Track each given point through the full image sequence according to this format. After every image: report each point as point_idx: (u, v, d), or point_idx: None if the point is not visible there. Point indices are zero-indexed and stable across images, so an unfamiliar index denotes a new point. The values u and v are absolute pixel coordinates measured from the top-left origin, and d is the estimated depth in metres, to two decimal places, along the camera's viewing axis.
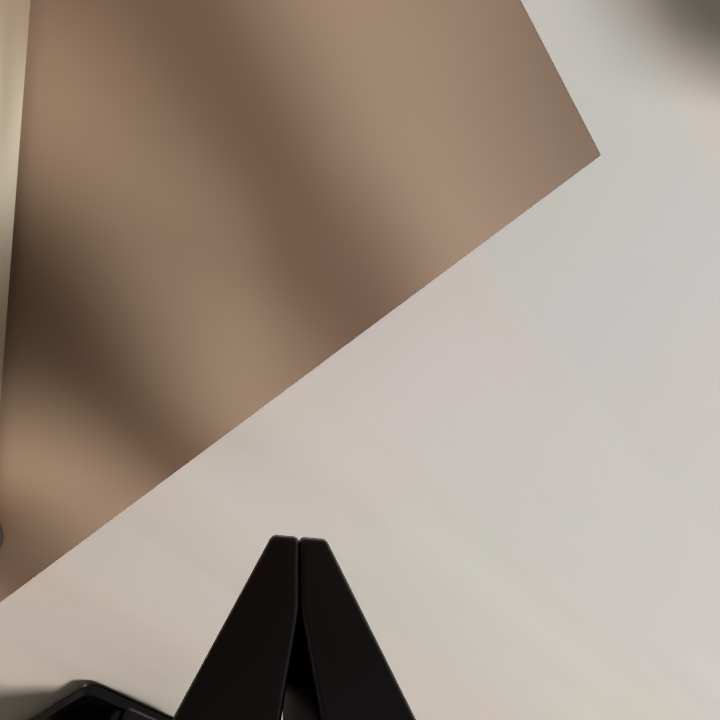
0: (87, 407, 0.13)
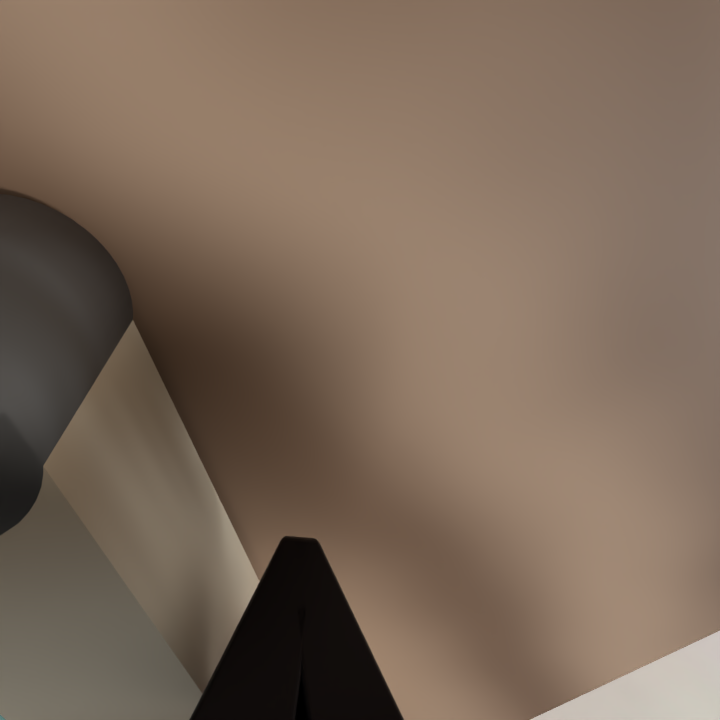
0: (484, 678, 0.14)
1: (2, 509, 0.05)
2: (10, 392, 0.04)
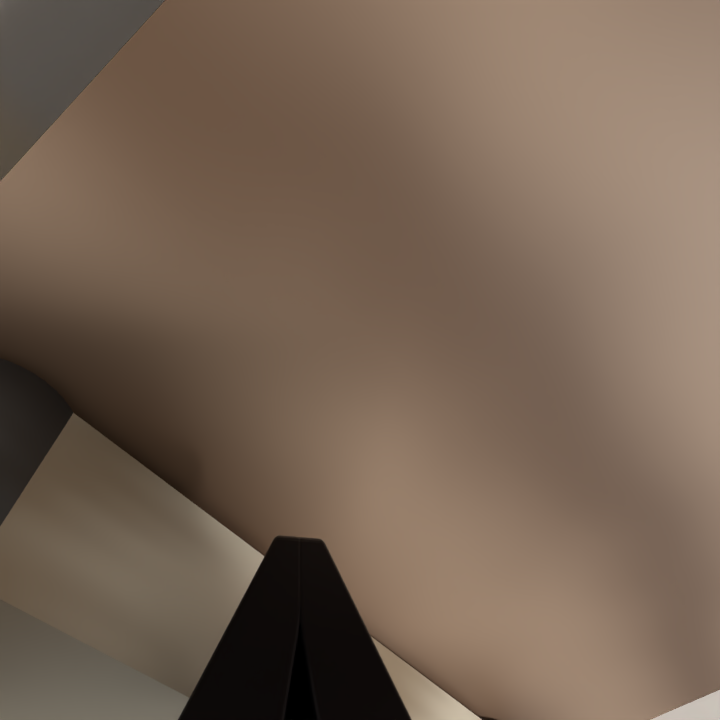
0: (662, 657, 0.14)
1: None
2: None
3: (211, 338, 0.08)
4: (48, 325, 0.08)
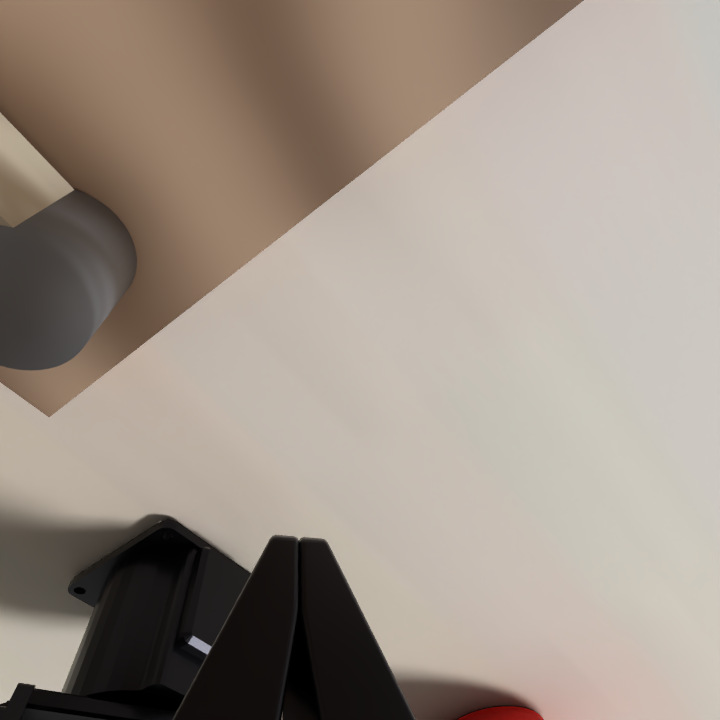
0: (252, 98, 0.12)
1: None
2: None
3: None
4: None
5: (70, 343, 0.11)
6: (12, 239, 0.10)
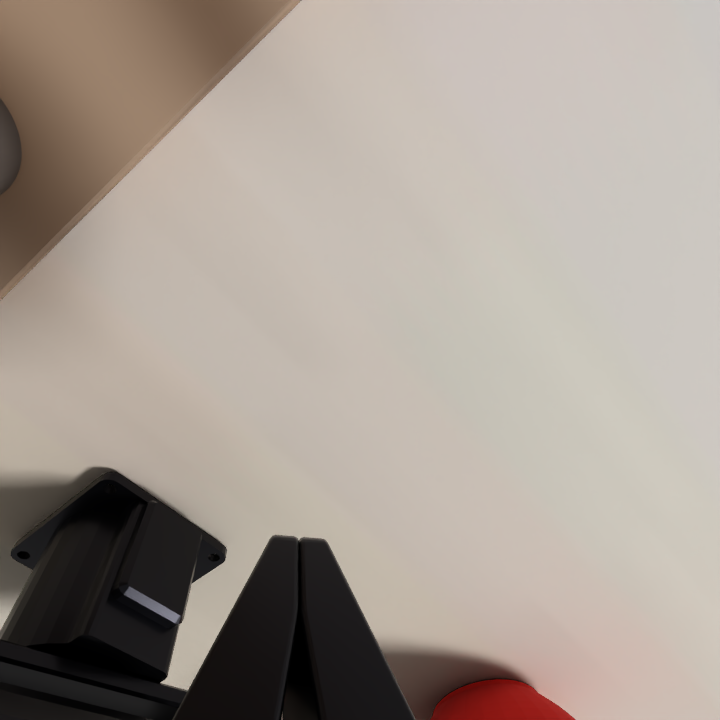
0: None
1: None
2: None
3: None
4: None
5: None
6: None
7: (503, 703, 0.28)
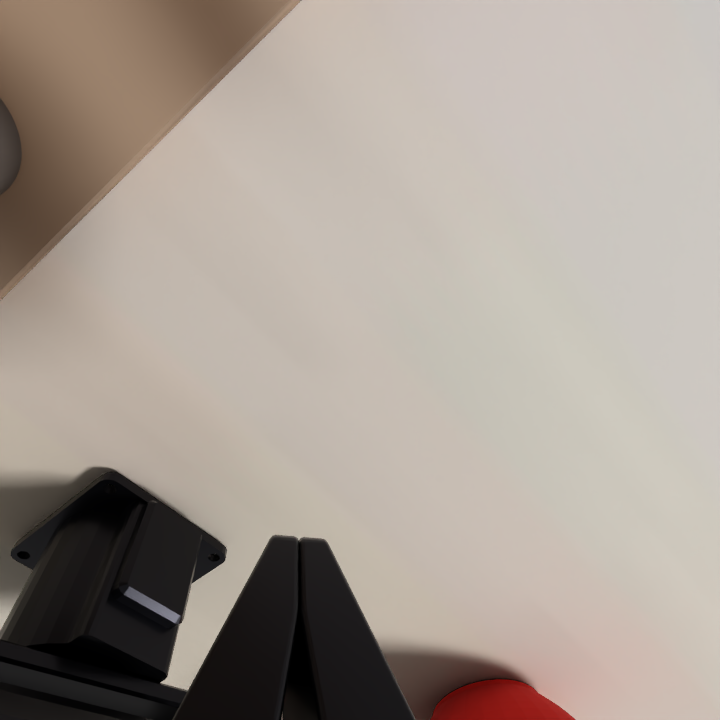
0: None
1: None
2: None
3: None
4: None
5: None
6: None
7: (503, 703, 0.28)
